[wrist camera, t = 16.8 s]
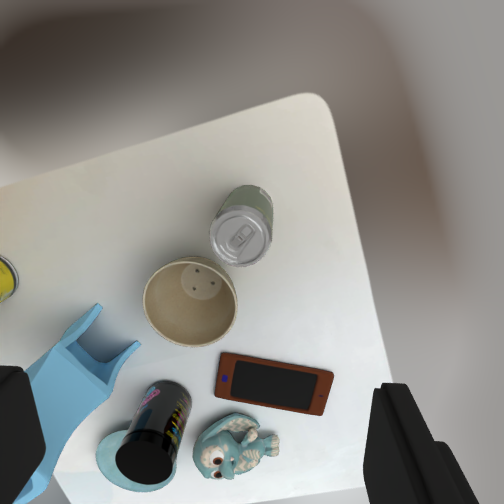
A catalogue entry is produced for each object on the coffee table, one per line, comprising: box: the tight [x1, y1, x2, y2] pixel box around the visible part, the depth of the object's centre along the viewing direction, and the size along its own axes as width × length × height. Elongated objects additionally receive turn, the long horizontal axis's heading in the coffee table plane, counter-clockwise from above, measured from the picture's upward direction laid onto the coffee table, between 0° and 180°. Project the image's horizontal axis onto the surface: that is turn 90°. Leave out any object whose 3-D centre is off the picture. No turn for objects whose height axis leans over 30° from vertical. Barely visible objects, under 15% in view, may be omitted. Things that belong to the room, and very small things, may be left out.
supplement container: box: [115, 381, 192, 485], centre depth 46 cm, size 7×7×10 cm
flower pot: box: [143, 257, 237, 347], centre depth 41 cm, size 10×10×7 cm
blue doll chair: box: [13, 303, 141, 504], centre depth 39 cm, size 8×8×20 cm
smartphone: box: [215, 353, 334, 416], centre depth 49 cm, size 7×1×15 cm
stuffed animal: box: [193, 413, 279, 479], centre depth 50 cm, size 11×7×12 cm
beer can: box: [209, 185, 273, 267], centre depth 36 cm, size 5×5×12 cm
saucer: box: [96, 430, 176, 492], centre depth 54 cm, size 12×12×2 cm
